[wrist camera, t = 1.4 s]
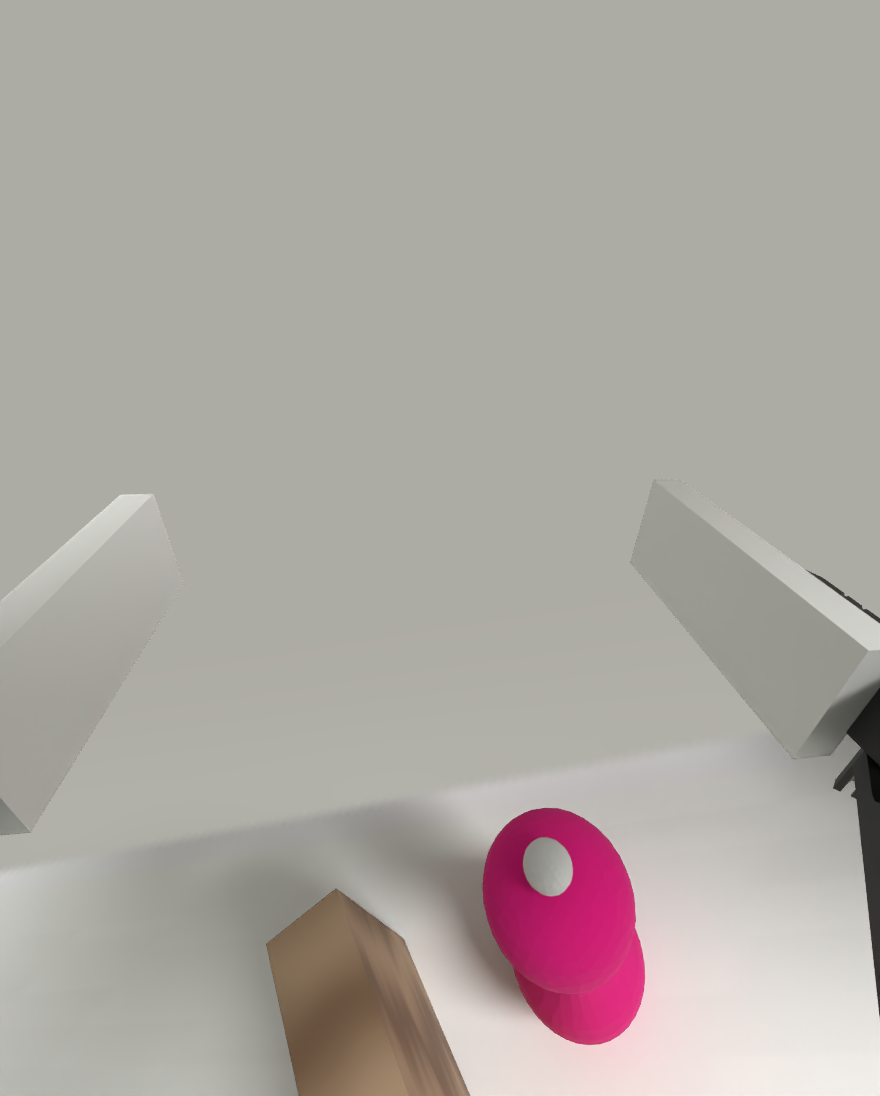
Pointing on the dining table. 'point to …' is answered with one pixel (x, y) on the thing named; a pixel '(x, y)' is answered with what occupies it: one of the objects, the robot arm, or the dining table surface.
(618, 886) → the pepper mill
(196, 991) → the dining table surface
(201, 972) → the dining table surface
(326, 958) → the block
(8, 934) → the dining table surface
